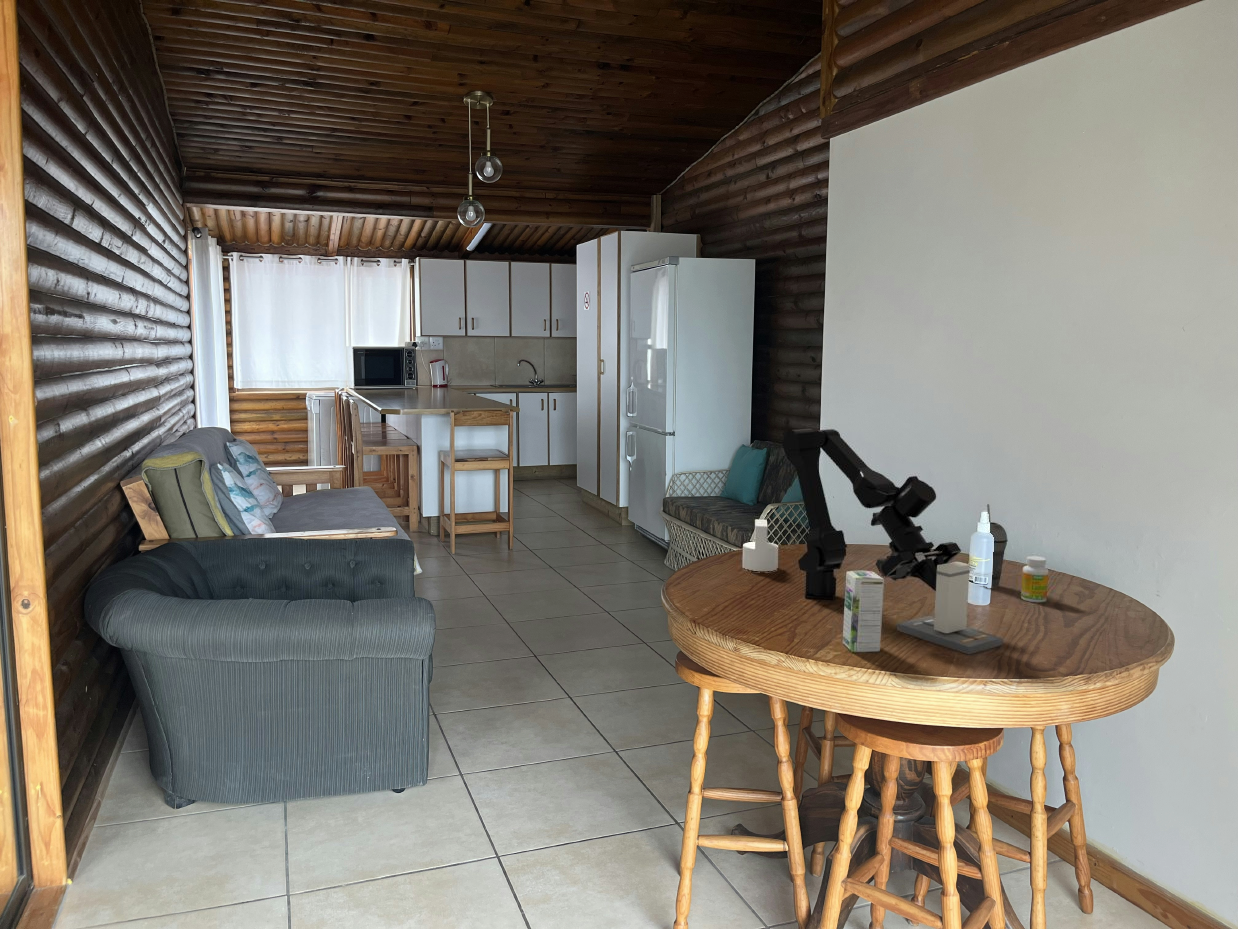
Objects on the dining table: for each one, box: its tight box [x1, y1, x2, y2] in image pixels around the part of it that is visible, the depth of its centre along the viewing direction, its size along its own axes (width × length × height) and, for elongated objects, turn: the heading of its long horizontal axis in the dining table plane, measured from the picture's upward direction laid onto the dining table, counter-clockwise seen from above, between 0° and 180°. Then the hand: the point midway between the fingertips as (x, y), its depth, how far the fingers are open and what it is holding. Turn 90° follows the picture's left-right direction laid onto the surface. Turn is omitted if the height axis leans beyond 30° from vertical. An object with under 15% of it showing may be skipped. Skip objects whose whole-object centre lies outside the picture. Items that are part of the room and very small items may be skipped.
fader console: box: [896, 615, 1003, 655], centre depth 180 cm, size 17×10×2 cm, turn 33°
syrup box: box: [842, 570, 885, 653], centre depth 173 cm, size 6×6×14 cm
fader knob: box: [933, 561, 971, 634], centre depth 179 cm, size 3×6×13 cm, turn 123°
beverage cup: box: [986, 503, 1009, 589], centre depth 217 cm, size 7×7×20 cm
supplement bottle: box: [1020, 555, 1049, 603], centre depth 207 cm, size 5×5×10 cm
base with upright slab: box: [742, 518, 779, 572], centre depth 234 cm, size 9×9×12 cm
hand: (944, 594), depth 180 cm, fingers closed, pressing on fader knob
